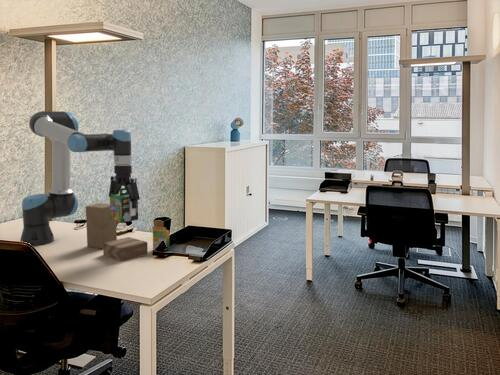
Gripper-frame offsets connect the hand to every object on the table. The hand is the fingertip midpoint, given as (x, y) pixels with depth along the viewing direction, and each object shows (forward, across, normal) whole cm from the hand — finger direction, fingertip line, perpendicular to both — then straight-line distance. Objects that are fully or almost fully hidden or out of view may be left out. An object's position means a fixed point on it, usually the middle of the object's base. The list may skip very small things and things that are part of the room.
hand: (124, 214), depth 206 cm
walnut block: (+19, 0, 0) cm, 19 cm away
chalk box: (+3, 0, 0) cm, 3 cm away
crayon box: (+19, +9, +14) cm, 25 cm away
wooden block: (+19, -21, +4) cm, 28 cm away
